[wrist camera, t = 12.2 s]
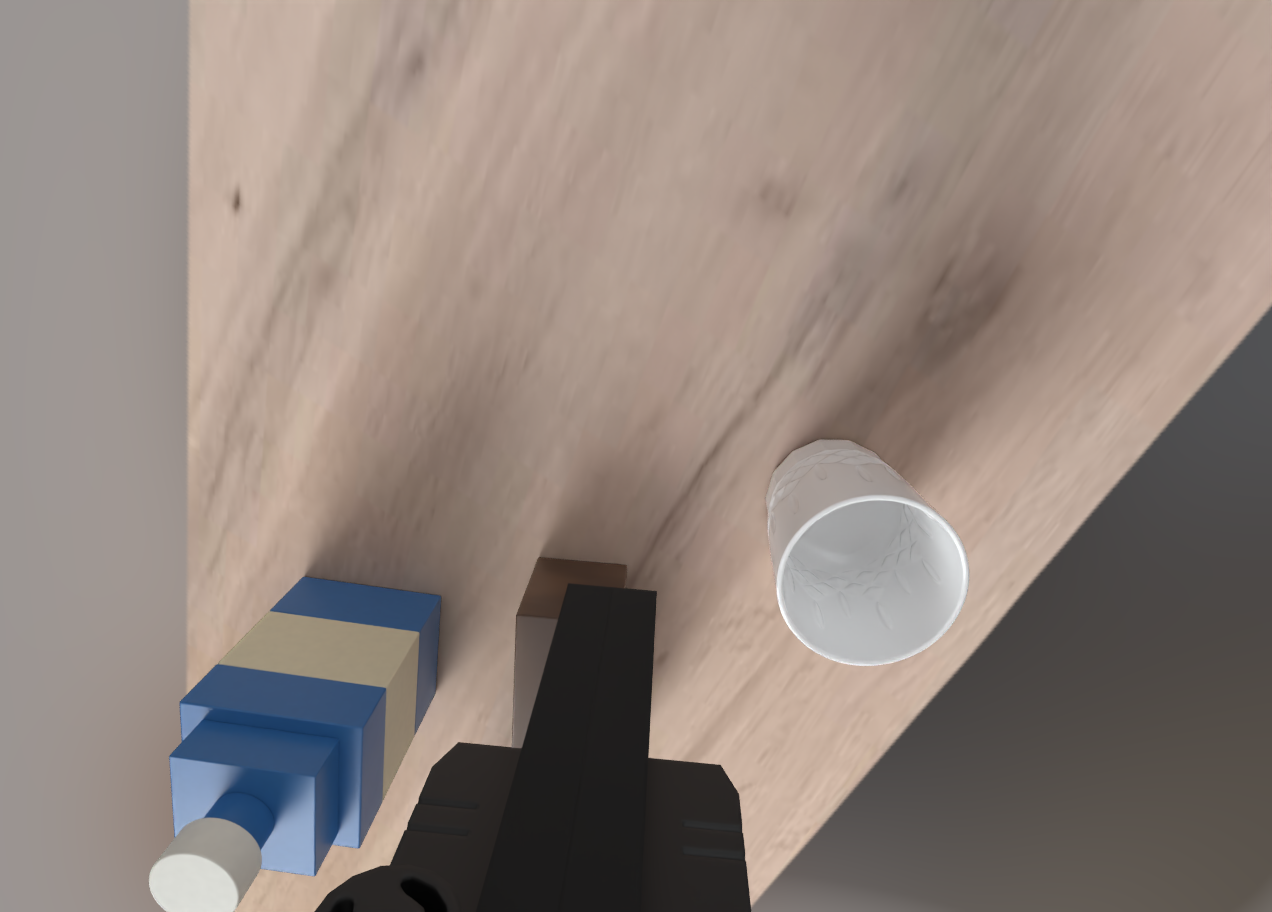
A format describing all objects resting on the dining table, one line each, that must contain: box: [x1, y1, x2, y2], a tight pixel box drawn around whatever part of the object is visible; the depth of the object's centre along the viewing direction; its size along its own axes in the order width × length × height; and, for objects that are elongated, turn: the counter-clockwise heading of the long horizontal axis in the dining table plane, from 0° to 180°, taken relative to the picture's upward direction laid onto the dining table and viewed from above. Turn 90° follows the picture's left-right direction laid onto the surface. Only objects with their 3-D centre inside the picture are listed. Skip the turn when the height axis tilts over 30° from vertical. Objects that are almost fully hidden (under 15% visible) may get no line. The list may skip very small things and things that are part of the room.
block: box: [512, 557, 627, 748], centre depth 43 cm, size 5×12×6 cm, turn 176°
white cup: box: [765, 440, 969, 666], centre depth 38 cm, size 8×8×10 cm
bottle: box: [149, 577, 441, 912], centre depth 39 cm, size 16×7×17 cm
